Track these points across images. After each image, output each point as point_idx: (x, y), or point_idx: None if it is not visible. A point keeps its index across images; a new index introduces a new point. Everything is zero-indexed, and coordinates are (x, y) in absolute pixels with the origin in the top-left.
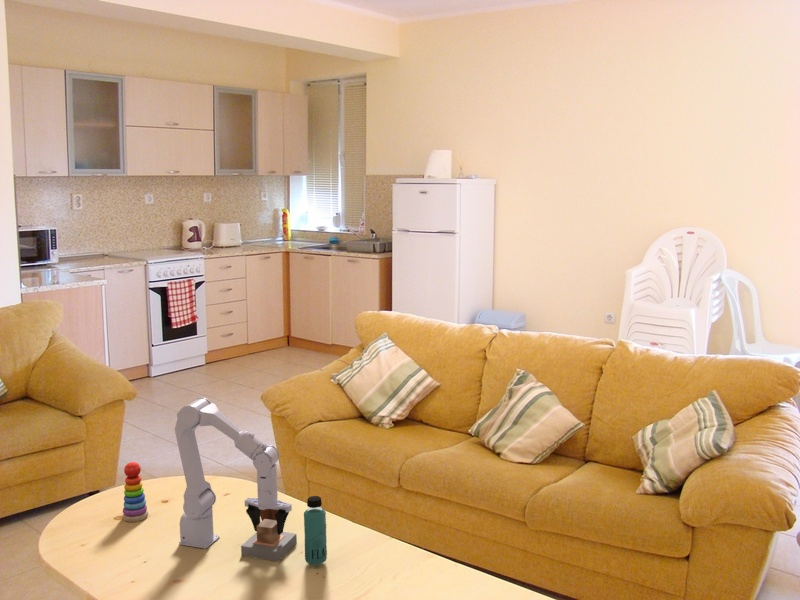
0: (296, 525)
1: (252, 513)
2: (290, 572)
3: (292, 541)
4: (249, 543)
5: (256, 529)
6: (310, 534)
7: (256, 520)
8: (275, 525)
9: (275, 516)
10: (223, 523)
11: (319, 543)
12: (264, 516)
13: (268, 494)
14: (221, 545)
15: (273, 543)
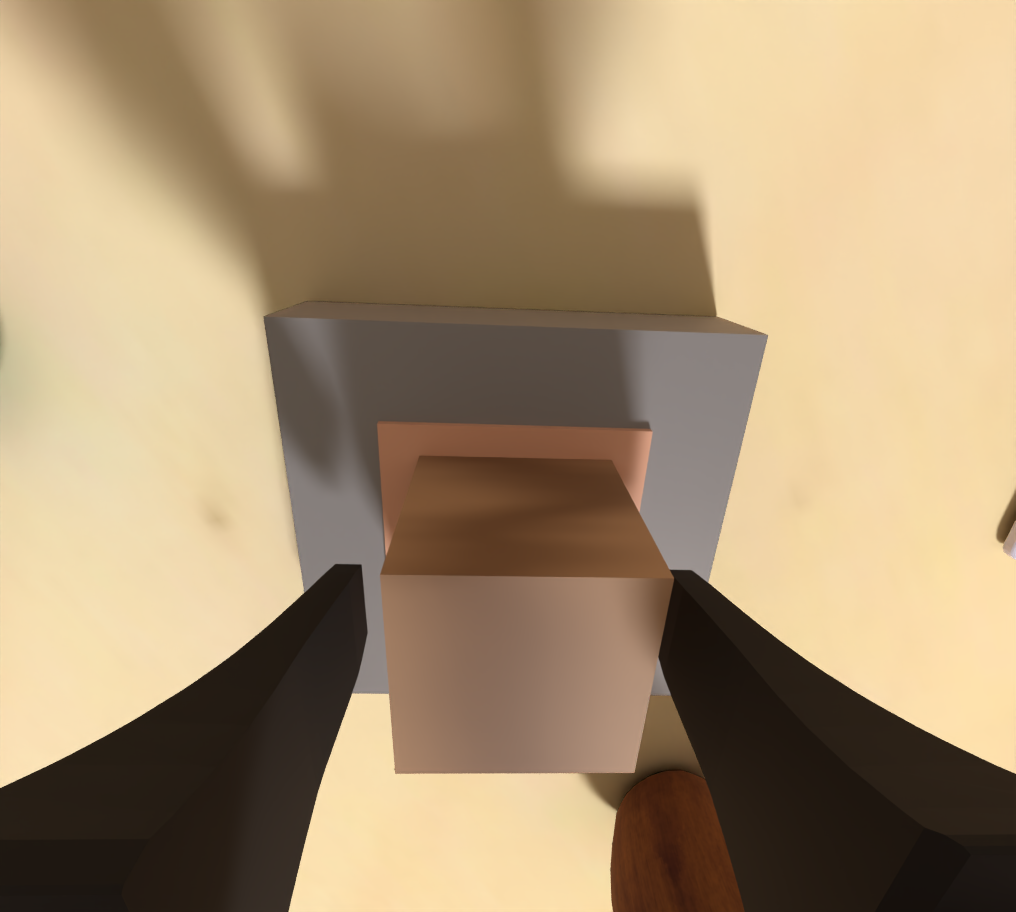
0: (480, 808)
1: (897, 800)
2: (36, 106)
3: None
4: (686, 414)
5: (675, 582)
6: None
7: (728, 696)
8: (389, 667)
9: (169, 812)
10: (999, 723)
11: None
12: (716, 835)
13: None
14: (957, 441)
15: None
